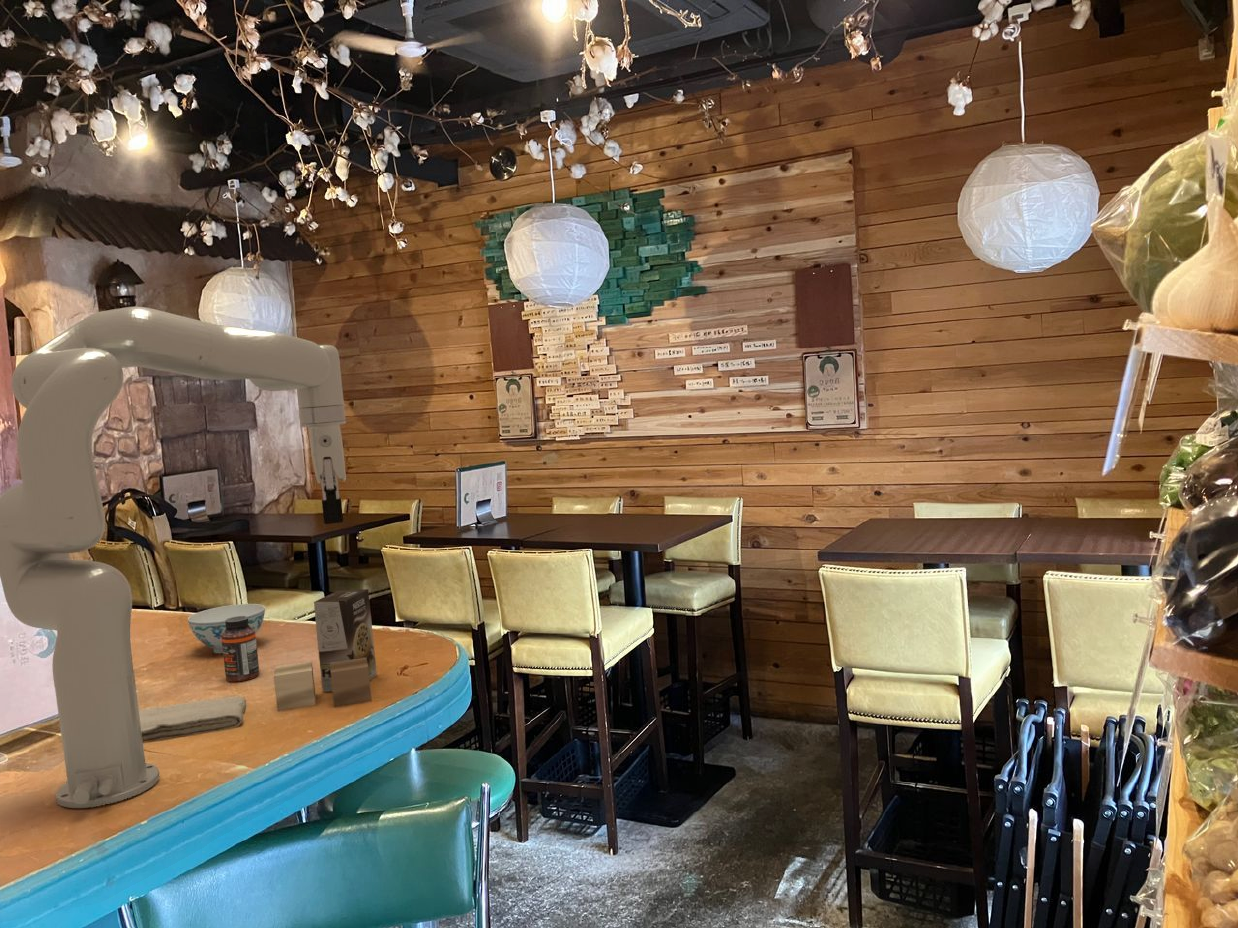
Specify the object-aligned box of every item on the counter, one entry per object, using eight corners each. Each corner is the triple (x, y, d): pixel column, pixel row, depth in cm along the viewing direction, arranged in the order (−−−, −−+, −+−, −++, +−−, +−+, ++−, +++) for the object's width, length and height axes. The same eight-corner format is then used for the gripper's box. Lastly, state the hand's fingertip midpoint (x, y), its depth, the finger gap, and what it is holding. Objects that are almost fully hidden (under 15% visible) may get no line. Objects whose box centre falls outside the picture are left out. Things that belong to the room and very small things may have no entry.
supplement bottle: (218, 681, 182) (211, 621, 181) (244, 671, 187) (237, 613, 186) (241, 683, 179) (234, 623, 178) (266, 673, 184) (260, 614, 183)
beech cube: (315, 705, 164) (311, 670, 163) (277, 711, 162) (273, 676, 162) (315, 694, 170) (311, 660, 169) (279, 700, 168) (275, 666, 167)
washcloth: (133, 725, 162) (130, 706, 162) (248, 706, 167) (246, 689, 167) (119, 749, 151) (116, 730, 151) (243, 729, 156) (241, 710, 156)
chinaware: (192, 647, 209) (187, 611, 208) (266, 634, 215) (262, 600, 214) (191, 664, 195) (187, 626, 194) (271, 650, 201) (267, 613, 200)
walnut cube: (371, 701, 164) (368, 666, 163) (334, 707, 162) (330, 672, 161) (369, 691, 169) (366, 657, 169) (333, 696, 168) (330, 662, 167)
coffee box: (355, 692, 169) (346, 600, 168) (321, 692, 170) (311, 601, 169) (378, 675, 178) (369, 588, 176) (346, 675, 179) (336, 589, 178)
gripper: (346, 416, 163) (357, 525, 165) (343, 414, 178) (354, 514, 180) (299, 420, 161) (311, 530, 163) (300, 418, 176) (311, 519, 178)
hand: (333, 521), depth 171 cm, fingers closed
